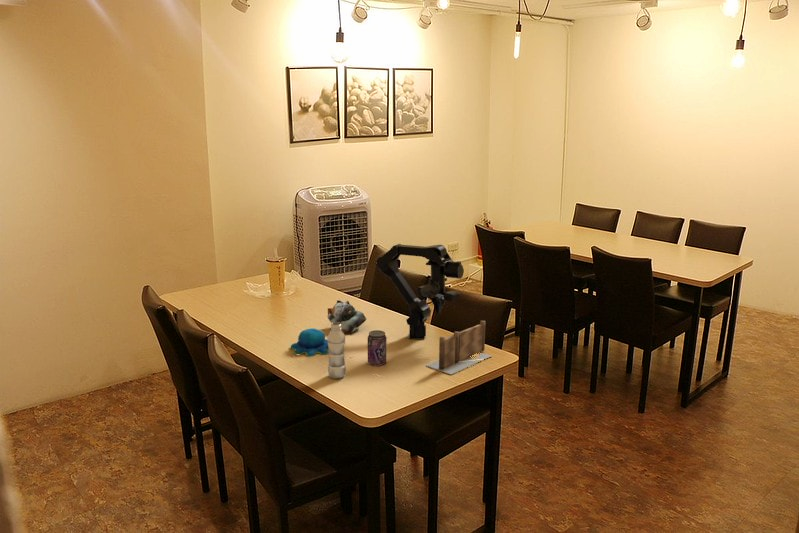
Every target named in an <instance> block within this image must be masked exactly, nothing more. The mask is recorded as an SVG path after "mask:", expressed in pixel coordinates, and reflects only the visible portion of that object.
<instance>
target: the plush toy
mask: <svg viewBox="0 0 799 533" xmlns="http://www.w3.org/2000/svg"><path fill="white" fill-rule="evenodd" d="M297 338H298V339H297V340H298V341H297V342H294V343H292V344H291V345H290V349H291V350H293V351H294V352H293V353H294V355H296V354H301V355H303V354H307V355H306V357H313V355H314V356H316V354H320V355H322V356H324V355H328V354H329V347H328V341H327V338H326V335H325V332H324V331H322V330H320V329H318V328H313V327H311V328H306V329H303V330H301V331H300V333H299V334H298V336H297ZM294 349H295V350H294ZM302 353H303V354H302Z"/></svg>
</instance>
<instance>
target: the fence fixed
mask: <svg viewBox="0 0 799 533" xmlns="http://www.w3.org/2000/svg"><path fill="white" fill-rule="evenodd" d="M459 332H460V331H456V330H455V331H453V334H452V335H449V336H447V337H445V336H440V337H439V343H438V344H439V347H438V348H439V351H438V352H439V353H438V360H439V369H441V370H443V369H444V368H446V367H448V366H451V365H453V364H455V363H458V358H459Z"/></svg>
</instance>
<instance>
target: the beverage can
mask: <svg viewBox="0 0 799 533" xmlns="http://www.w3.org/2000/svg"><path fill="white" fill-rule="evenodd" d="M367 363H368V364H370V365H372V366H378V367H379V366H382V365H383V364H386V363H387V336H386V332H385V331H384V330H379V329H378V330H377V329H376V330H371V331H369V332H368V336H367Z"/></svg>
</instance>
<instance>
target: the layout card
mask: <svg viewBox="0 0 799 533" xmlns="http://www.w3.org/2000/svg"><path fill="white" fill-rule="evenodd" d="M482 353H483V354H482ZM477 354H478V353H477ZM491 356H492V355H490V354H487V353H484V352H481V354H480V353H479V357H478V358H479V359H478V358H477V357H476V356H475V357H476V358H477V359H476V358H475V357H474V356H473V357H474V358H475V359H476V360H477V361H476V360H475V359H474V358H473V357H472V356H471V357H472V358H473V359H474V360H473V359H472V358H471V357H467V358H465V359H463V360H460V361H458V363H455V364H453V365H451V366H448V367H446V368H444V369H443V370H441V369H439V359H437V360H436V361H433V362H431V363H428V364H427V365H426V367H427V368H429V369H432V370H436V371H438V372H440V371H441V373H443V372H444V373H443V374H446V373H447V374H446V375H449V374H450V375H449V376H453V375H455V373H456V374H457V372H458V373H459V371H460V372H462V371H464V370H466V369H465V368H467V367H469V366H471V367H473V366H474V364H475V365H477V364H479V363H478V362H480V361H482V360H484V359H486V360H488V359H490V358H489V357H491ZM487 358H488V359H487ZM491 358H492V357H491ZM478 360H479V361H478ZM484 361H485V360H484ZM482 362H483V361H482ZM476 363H477V364H476ZM480 363H481V362H480ZM472 365H473V366H472ZM469 368H470V367H469ZM463 369H464V370H463ZM467 369H468V368H467ZM461 370H462V371H461Z"/></svg>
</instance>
